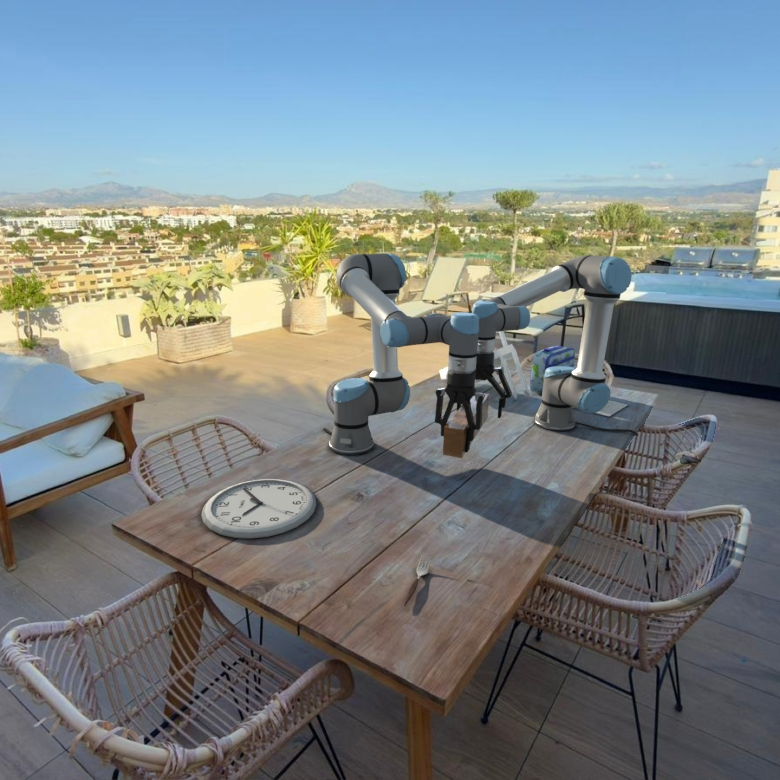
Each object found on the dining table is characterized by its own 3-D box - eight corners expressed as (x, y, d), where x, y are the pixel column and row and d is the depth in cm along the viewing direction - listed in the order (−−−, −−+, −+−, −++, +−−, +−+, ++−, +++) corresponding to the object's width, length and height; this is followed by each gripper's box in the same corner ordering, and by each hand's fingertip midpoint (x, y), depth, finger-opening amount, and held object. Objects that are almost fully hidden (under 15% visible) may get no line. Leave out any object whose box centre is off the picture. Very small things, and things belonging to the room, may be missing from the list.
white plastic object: (461, 429, 252) (437, 405, 227) (444, 352, 274) (420, 323, 250) (535, 404, 240) (518, 377, 215) (510, 326, 262) (492, 293, 237)
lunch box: (546, 399, 235) (551, 353, 228) (525, 393, 242) (530, 349, 236) (574, 387, 252) (579, 345, 246) (553, 383, 260) (558, 341, 253)
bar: (471, 415, 177) (472, 391, 174) (487, 418, 175) (489, 394, 172) (442, 454, 147) (444, 426, 144) (461, 458, 145) (463, 430, 142)
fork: (398, 606, 105) (398, 598, 104) (421, 561, 119) (421, 553, 119) (410, 610, 104) (410, 601, 103) (432, 564, 118) (432, 556, 118)
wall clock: (313, 530, 128) (186, 534, 125) (313, 536, 128) (187, 540, 125) (318, 474, 156) (215, 477, 154) (318, 479, 157) (216, 482, 154)
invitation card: (608, 416, 214) (573, 407, 224) (608, 416, 214) (573, 408, 224) (628, 404, 229) (594, 396, 238) (628, 405, 229) (594, 397, 238)
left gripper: (424, 369, 142) (421, 447, 149) (492, 378, 136) (485, 459, 143) (433, 363, 149) (429, 438, 156) (498, 371, 142) (491, 449, 149)
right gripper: (441, 350, 166) (439, 412, 173) (520, 357, 158) (515, 423, 164) (447, 345, 173) (445, 405, 180) (524, 352, 164) (519, 415, 171)
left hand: (456, 448), depth 149 cm, fingers closed on bar, 6 cm apart
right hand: (478, 414), depth 172 cm, fingers open, 13 cm apart
